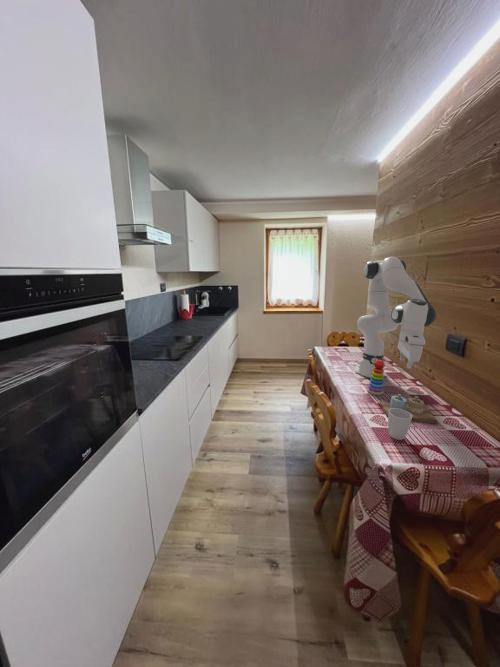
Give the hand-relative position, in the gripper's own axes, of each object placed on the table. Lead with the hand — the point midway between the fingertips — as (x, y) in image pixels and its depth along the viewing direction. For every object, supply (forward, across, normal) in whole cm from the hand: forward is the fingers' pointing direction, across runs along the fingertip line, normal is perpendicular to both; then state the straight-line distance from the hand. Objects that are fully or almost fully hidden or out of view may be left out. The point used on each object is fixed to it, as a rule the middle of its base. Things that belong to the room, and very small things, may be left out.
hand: (405, 364), depth 123 cm
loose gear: (+21, +4, -1) cm, 21 cm away
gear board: (+22, +4, +3) cm, 23 cm away
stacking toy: (+23, -15, -7) cm, 28 cm away
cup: (+22, +26, -7) cm, 35 cm away
